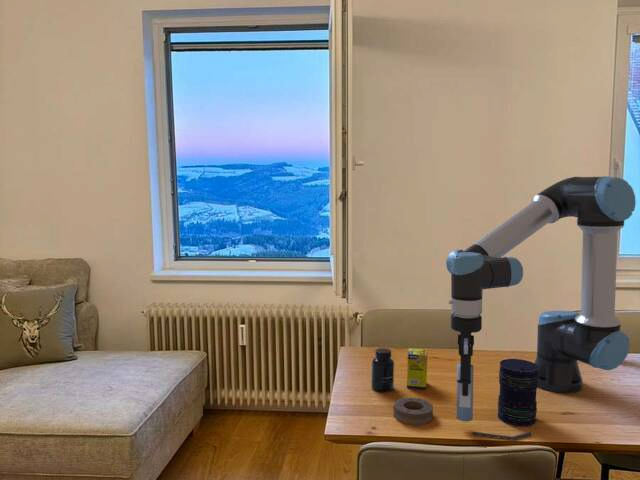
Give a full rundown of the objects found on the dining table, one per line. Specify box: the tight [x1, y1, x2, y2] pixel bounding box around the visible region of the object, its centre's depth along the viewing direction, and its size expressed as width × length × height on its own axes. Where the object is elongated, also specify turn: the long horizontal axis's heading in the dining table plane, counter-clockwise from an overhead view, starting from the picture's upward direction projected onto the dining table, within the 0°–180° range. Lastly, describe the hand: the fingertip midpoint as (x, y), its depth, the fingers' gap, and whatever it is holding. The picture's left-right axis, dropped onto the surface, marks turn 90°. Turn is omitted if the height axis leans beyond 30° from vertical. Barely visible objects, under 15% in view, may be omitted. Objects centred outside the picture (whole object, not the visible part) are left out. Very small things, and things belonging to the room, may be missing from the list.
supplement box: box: [406, 347, 428, 390], centre depth 165 cm, size 6×6×11 cm
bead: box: [393, 396, 434, 426], centre depth 144 cm, size 10×10×3 cm
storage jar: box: [497, 358, 539, 428], centre depth 142 cm, size 10×10×15 cm
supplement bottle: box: [370, 347, 395, 393], centre depth 162 cm, size 7×7×12 cm
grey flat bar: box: [472, 431, 533, 441], centre depth 133 cm, size 14×4×1 cm, turn 75°
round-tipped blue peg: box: [456, 362, 474, 423], centre depth 135 cm, size 4×4×16 cm
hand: (464, 402), depth 136 cm, fingers closed on round-tipped blue peg, 4 cm apart
